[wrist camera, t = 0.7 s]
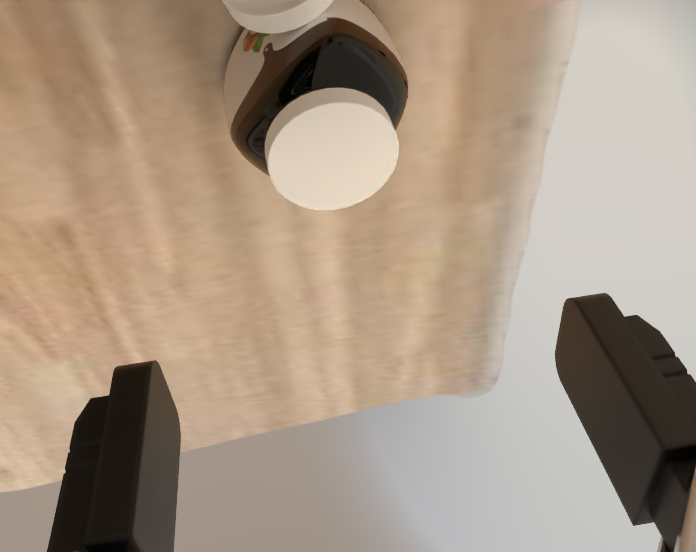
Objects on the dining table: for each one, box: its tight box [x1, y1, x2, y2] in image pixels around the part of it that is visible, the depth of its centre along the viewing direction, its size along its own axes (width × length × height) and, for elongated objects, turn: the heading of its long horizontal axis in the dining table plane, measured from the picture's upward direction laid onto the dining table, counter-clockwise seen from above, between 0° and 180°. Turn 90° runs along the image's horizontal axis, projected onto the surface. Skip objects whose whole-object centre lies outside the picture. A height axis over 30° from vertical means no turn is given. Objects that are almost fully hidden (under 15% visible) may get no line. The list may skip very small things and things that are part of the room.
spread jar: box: [222, 0, 408, 210], centre depth 36 cm, size 12×11×12 cm
